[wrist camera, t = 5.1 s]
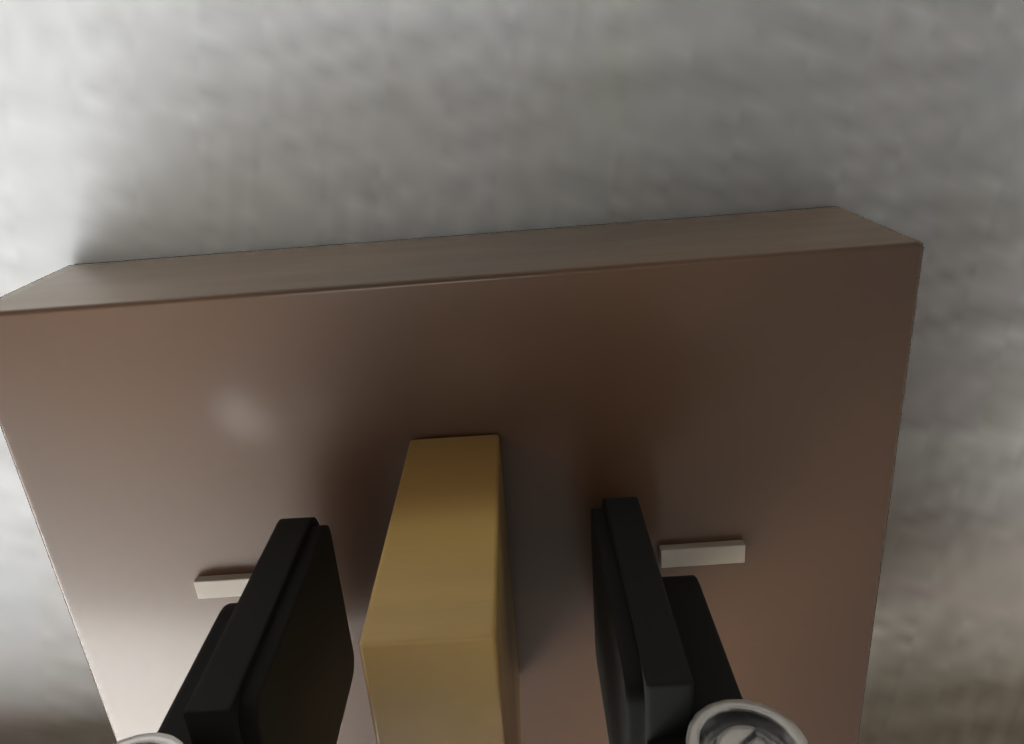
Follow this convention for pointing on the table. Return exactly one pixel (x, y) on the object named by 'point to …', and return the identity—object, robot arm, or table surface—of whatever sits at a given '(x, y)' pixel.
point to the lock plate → (473, 412)
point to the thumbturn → (445, 603)
